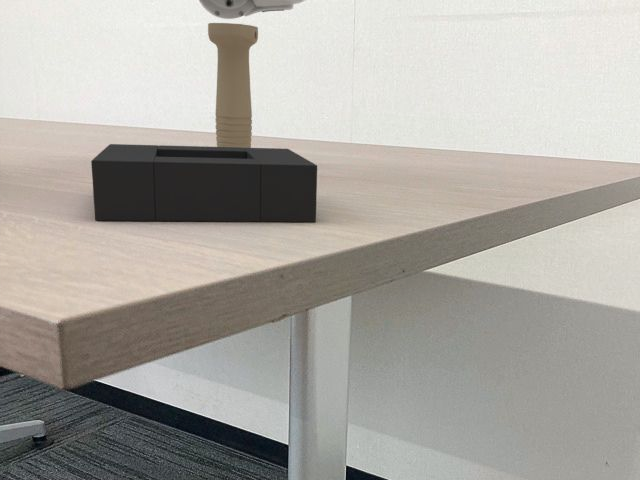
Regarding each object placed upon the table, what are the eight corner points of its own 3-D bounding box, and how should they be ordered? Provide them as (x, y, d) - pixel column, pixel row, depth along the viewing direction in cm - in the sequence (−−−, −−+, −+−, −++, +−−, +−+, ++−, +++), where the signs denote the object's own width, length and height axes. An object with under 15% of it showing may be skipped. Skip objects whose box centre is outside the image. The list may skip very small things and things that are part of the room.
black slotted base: (95, 220, 52) (91, 160, 51) (112, 191, 66) (109, 143, 65) (315, 222, 55) (317, 165, 54) (287, 194, 69) (288, 148, 68)
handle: (263, 171, 87) (264, 29, 83) (246, 177, 81) (246, 23, 77) (222, 169, 88) (221, 27, 83) (202, 174, 82) (200, 22, 77)
